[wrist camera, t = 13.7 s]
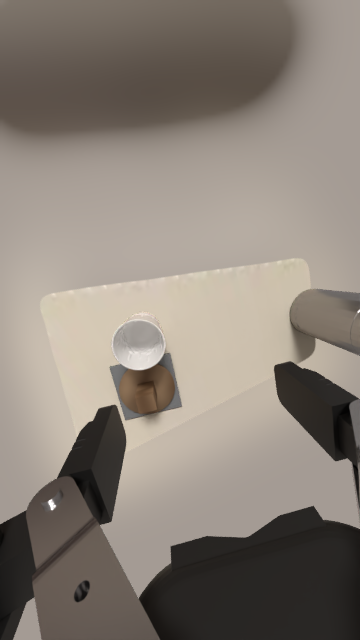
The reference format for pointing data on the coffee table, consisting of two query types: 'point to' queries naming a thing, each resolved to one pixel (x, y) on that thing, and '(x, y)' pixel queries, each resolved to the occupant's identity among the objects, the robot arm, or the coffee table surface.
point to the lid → (147, 389)
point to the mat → (119, 370)
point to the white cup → (139, 342)
